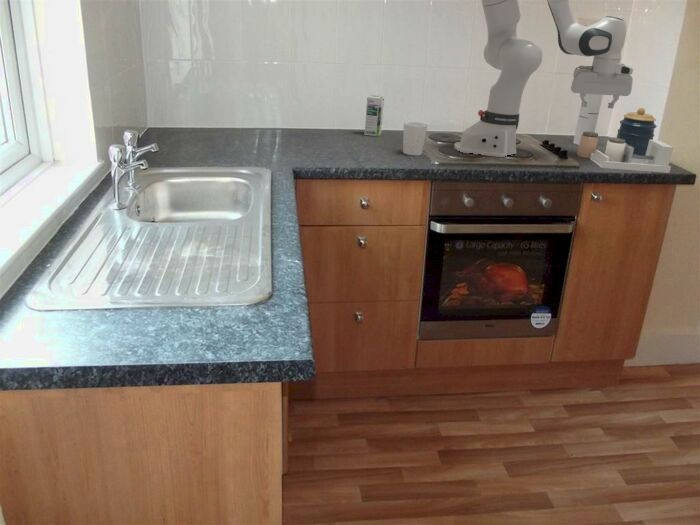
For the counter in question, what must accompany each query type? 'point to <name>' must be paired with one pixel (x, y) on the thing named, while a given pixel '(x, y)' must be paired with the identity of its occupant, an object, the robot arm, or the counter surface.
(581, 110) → the cylindrical container
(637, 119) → the canister
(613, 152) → the lane jar
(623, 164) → the white tray
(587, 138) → the jar
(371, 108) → the syrup box
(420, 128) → the white cup
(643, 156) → the pusher
